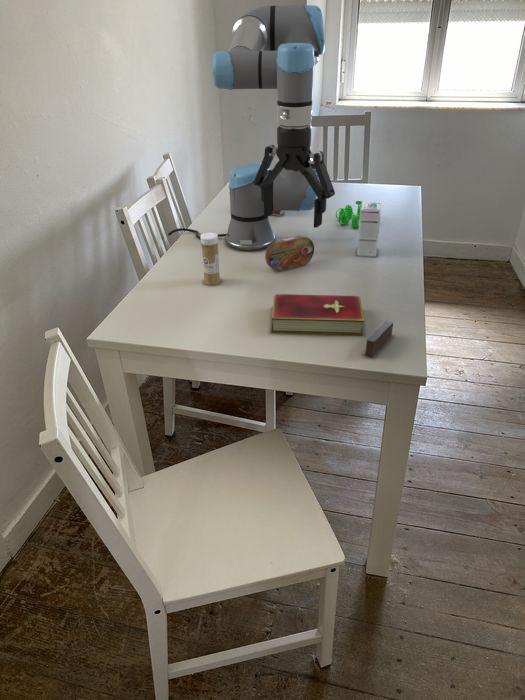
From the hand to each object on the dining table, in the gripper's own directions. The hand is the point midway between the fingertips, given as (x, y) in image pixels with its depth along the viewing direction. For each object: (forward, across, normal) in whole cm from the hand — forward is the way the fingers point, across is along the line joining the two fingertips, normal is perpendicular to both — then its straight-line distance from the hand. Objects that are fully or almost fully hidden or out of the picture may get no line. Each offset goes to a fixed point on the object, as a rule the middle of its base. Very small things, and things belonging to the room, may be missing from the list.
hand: (292, 220), depth 126 cm
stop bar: (+20, +28, -10) cm, 36 cm away
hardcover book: (+20, +12, -8) cm, 25 cm away
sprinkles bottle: (+20, -22, -4) cm, 30 cm away
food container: (+15, -37, +51) cm, 64 cm away
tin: (+20, -9, +15) cm, 27 cm away
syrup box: (+20, +6, +35) cm, 41 cm away
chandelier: (+20, -7, +57) cm, 61 cm away
